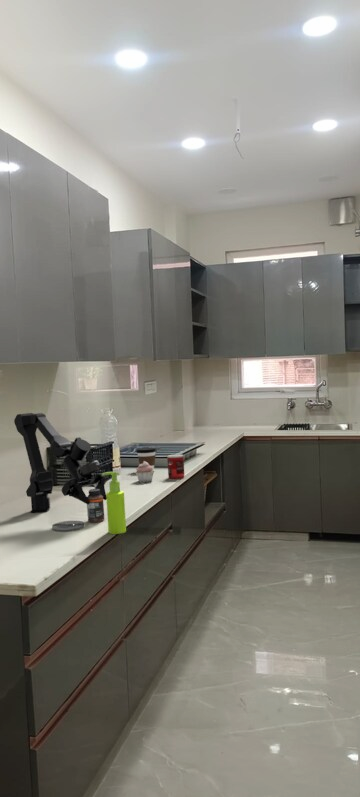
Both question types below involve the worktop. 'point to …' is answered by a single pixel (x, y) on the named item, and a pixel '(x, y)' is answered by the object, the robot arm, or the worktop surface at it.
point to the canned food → (175, 466)
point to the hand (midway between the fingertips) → (97, 501)
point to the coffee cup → (147, 456)
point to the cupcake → (144, 472)
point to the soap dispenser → (115, 506)
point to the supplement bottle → (95, 506)
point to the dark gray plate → (68, 526)
